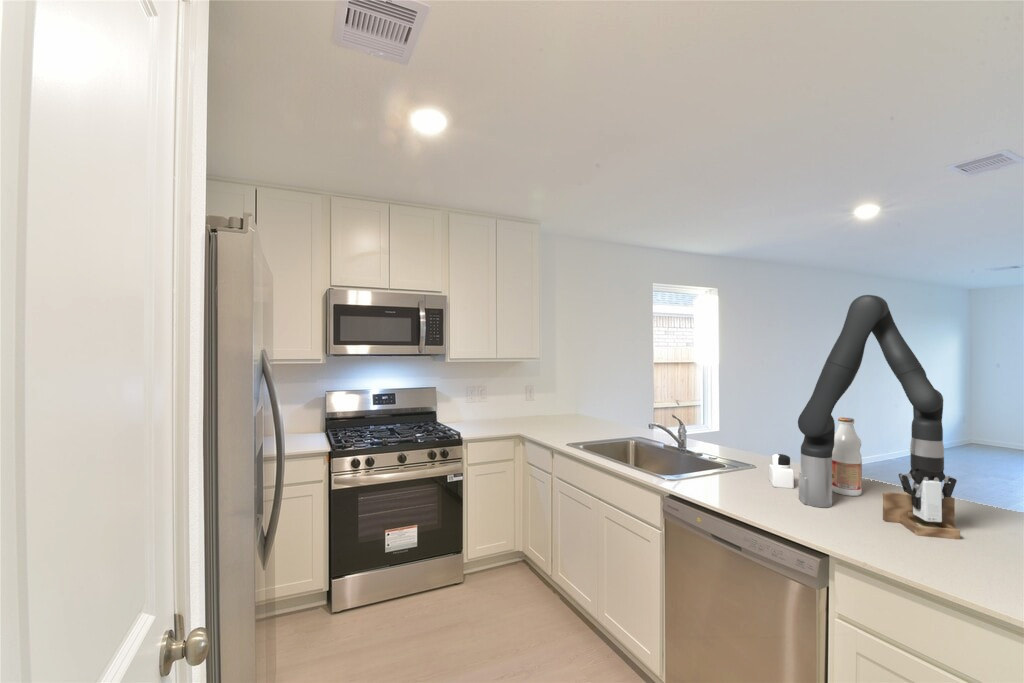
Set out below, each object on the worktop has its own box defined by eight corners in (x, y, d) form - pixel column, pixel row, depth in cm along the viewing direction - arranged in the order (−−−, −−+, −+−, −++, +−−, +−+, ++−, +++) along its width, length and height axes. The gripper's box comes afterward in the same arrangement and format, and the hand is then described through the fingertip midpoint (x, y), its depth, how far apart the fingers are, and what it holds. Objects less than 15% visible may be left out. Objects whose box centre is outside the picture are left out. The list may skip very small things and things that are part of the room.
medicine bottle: (789, 483, 180) (789, 453, 180) (793, 489, 173) (793, 458, 173) (769, 481, 182) (769, 452, 182) (773, 487, 175) (773, 456, 175)
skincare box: (942, 522, 133) (942, 482, 133) (926, 521, 134) (925, 482, 134) (928, 514, 139) (927, 476, 139) (912, 513, 140) (912, 475, 140)
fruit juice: (847, 497, 163) (847, 421, 163) (824, 489, 173) (824, 416, 172) (868, 495, 165) (868, 420, 165) (844, 487, 175) (844, 415, 174)
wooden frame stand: (901, 534, 134) (902, 504, 134) (882, 519, 144) (882, 491, 144) (976, 540, 129) (976, 509, 129) (951, 525, 139) (951, 496, 139)
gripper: (906, 455, 135) (906, 511, 135) (964, 458, 131) (964, 516, 131) (892, 449, 142) (892, 502, 142) (947, 451, 138) (947, 506, 138)
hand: (927, 508), depth 136 cm, fingers closed on skincare box, 4 cm apart
